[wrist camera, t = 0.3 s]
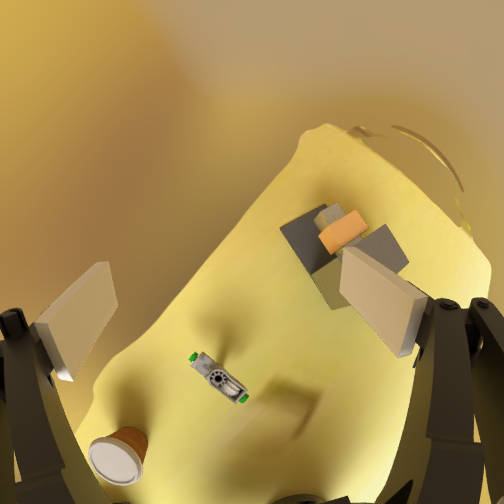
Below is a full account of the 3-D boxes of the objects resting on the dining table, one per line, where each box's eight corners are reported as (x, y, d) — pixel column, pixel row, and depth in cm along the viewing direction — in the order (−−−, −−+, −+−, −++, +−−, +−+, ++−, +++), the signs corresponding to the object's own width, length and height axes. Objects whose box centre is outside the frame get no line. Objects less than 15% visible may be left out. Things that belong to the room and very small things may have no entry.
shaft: (399, 325, 45) (412, 323, 41) (386, 338, 44) (398, 337, 40) (328, 211, 50) (337, 202, 46) (313, 220, 49) (320, 211, 45)
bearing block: (372, 278, 53) (409, 262, 41) (331, 310, 50) (364, 301, 38) (353, 246, 55) (385, 223, 42) (310, 275, 52) (337, 257, 39)
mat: (355, 250, 55) (356, 250, 54) (312, 279, 52) (313, 279, 51) (324, 204, 57) (324, 203, 56) (279, 228, 54) (280, 228, 53)
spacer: (357, 237, 48) (368, 228, 44) (330, 254, 46) (340, 247, 42) (345, 219, 48) (355, 209, 44) (318, 236, 47) (327, 226, 43)
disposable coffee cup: (166, 448, 39) (153, 476, 27) (133, 466, 36) (114, 493, 25) (133, 411, 40) (110, 430, 29) (101, 431, 37) (75, 451, 26)
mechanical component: (202, 345, 46) (197, 348, 36) (245, 381, 45) (252, 393, 35) (191, 357, 45) (184, 363, 35) (235, 393, 44) (239, 408, 34)
